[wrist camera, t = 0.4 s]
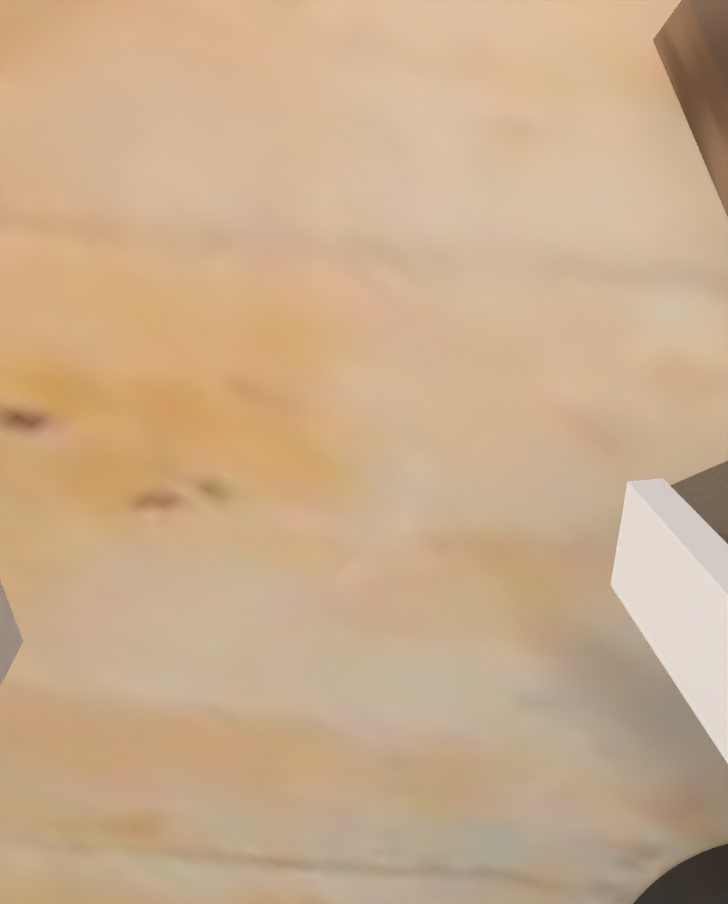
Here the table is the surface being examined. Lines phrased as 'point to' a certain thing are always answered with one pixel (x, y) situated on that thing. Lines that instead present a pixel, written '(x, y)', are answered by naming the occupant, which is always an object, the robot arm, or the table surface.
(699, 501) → the hollow square tube
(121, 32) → the table surface
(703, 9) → the tang block
